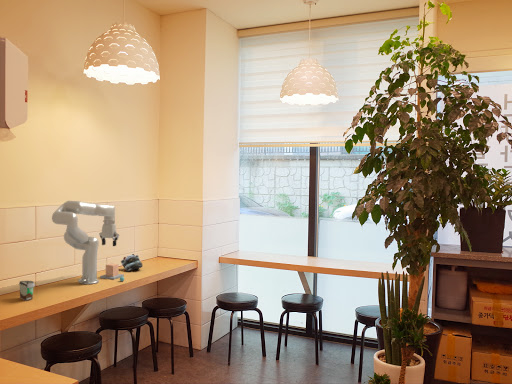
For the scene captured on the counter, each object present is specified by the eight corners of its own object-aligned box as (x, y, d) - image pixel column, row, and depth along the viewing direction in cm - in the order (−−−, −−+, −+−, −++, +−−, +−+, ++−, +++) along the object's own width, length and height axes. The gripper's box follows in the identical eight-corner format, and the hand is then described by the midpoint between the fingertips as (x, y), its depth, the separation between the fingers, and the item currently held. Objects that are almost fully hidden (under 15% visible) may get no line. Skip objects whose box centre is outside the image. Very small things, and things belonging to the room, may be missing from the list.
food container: (38, 299, 278) (38, 283, 277) (27, 301, 273) (27, 284, 273) (29, 295, 286) (29, 279, 286) (19, 297, 281) (19, 281, 281)
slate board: (114, 279, 333) (114, 277, 333) (99, 277, 337) (99, 276, 337) (123, 276, 345) (123, 274, 345) (110, 274, 349) (110, 273, 348)
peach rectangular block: (113, 276, 337) (113, 265, 336) (105, 275, 339) (105, 264, 339) (118, 274, 343) (118, 264, 343) (110, 274, 345) (111, 263, 345)
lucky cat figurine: (123, 272, 357) (118, 255, 361) (125, 275, 368) (120, 258, 372) (142, 266, 361) (137, 249, 364) (143, 269, 372) (139, 253, 376)
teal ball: (122, 281, 327) (122, 277, 327) (118, 281, 328) (118, 276, 328) (125, 280, 330) (125, 276, 330) (121, 280, 331) (121, 276, 331)
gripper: (96, 221, 341) (96, 245, 342) (115, 223, 335) (115, 247, 336) (103, 221, 348) (102, 243, 349) (122, 222, 342) (122, 245, 343)
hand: (109, 245), depth 342 cm, fingers open, 9 cm apart
